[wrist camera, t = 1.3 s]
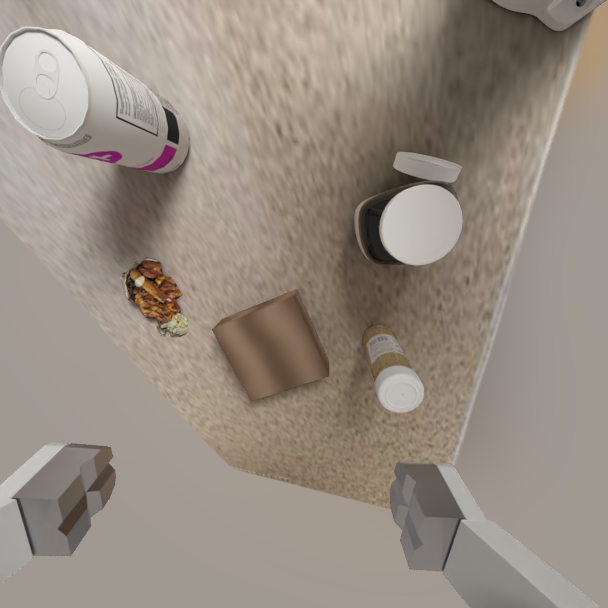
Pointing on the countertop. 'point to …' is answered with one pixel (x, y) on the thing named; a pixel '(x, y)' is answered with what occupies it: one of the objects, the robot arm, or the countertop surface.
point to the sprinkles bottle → (392, 371)
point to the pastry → (155, 296)
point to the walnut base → (273, 346)
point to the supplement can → (88, 103)
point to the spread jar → (412, 215)
